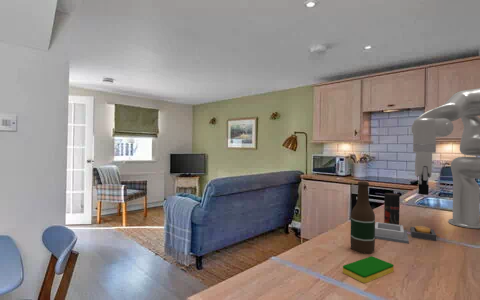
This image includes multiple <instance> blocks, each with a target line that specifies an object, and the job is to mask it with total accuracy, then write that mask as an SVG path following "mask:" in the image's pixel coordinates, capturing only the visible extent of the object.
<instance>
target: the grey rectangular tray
mask: <svg viewBox="0 0 480 300" xmlns="http://www.w3.org/2000/svg"><path fill="white" fill-rule="evenodd" d="M375 240H383V241H387V242H388V241H389V242H395V243H400V244H401V243H402V244H406V245H407V244H409V243H410V242H409V241H410V240H409V236H408V231H407V230H404V225H402V224H399V225H395V224H387V223H384V222H379V221H375Z"/></svg>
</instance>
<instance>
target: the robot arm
mask: <svg viewBox="0 0 480 300" xmlns="http://www.w3.org/2000/svg"><path fill="white" fill-rule="evenodd" d="M460 119H461V122H462V124H463V130H462V135H461V139H460V142H459V143H460V144H459V153H461V154H462V155H464V156H459V157H455V158H454V159H452V161H451V162H450V169H451V170H450V171H451V174H452V218H449V219H448V220H447V221H448V223H449V224H450V225H453V226H455V227H461V228H467V229H476V230H477V229H480V185H479V184H478V182H477V181H476V180H475V179H480V87H479V88H473V89H472V88H471V89H465V90H461V91H458V92H456V93H454V94H453V95H452V96H451V97H450V98H449V99H448V100H447V101H446V102H445V103H444V104H442V105H440V106H438V107H434V108H432V109H430V110H427V111H426V112H423V113H422V114H421V115H419V116H418V117H417V118H416V119H415V120H414V121H413V123H412V125H411V133H412V135H413V137H412V152H413V153H415V158H414V160H415V162H414V176H415V177H417V178H418V194H419V195H420V196H421V195H422V196H423V195H424V196H428V195H430V194H429V187H430V186H429V178H431V177H432V172H433V171H432V169H433V154H436V153H437V152H436V149H437V138H438V137H439V138H442V137H447V136H449V135H451V134H452V133H453V131H454V124H453V121H457V120H460Z"/></svg>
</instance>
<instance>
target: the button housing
mask: <svg viewBox="0 0 480 300" xmlns="http://www.w3.org/2000/svg"><path fill="white" fill-rule="evenodd" d="M415 228H416V226H410V231H409V232H410V236H411V238H414V239H421V240H427V241H433V242H434V241H435V242H437V233H436V232H435V229H433V228H430V233H422V232H415Z"/></svg>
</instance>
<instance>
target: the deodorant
mask: <svg viewBox="0 0 480 300" xmlns="http://www.w3.org/2000/svg"><path fill="white" fill-rule="evenodd" d="M383 194H384V196H383V197H384V200H383V202H384V205H383V206H384V207H383V223H387V224H395V225H400V202H401V201H400V200H401V199H400V198H401V195H400V193H396V192H395V193H393V192H384V193H383Z"/></svg>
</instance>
